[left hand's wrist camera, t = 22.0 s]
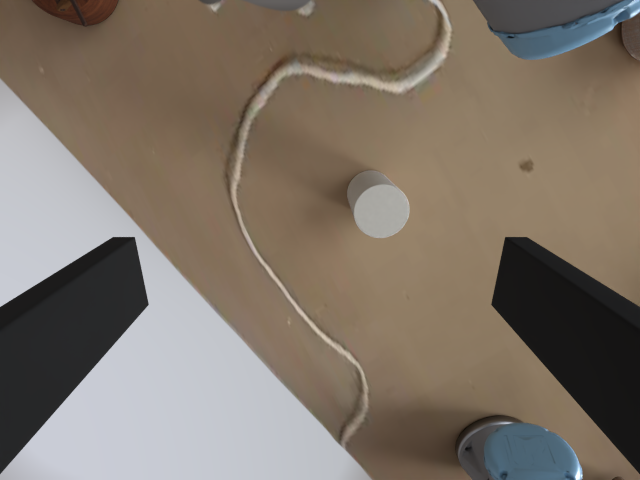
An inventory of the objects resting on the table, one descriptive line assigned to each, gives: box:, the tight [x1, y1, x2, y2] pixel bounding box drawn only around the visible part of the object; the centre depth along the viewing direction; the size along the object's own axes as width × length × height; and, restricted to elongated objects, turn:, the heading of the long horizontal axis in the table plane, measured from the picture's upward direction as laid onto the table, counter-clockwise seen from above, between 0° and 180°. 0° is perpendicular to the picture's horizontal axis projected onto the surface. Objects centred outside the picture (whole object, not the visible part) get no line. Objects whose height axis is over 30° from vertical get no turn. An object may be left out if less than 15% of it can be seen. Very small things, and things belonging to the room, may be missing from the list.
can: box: [347, 170, 409, 238], centre depth 47 cm, size 7×7×10 cm
